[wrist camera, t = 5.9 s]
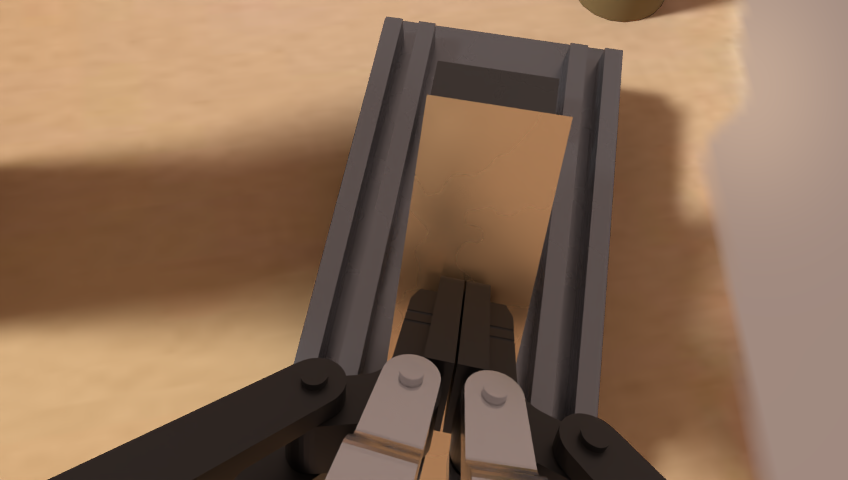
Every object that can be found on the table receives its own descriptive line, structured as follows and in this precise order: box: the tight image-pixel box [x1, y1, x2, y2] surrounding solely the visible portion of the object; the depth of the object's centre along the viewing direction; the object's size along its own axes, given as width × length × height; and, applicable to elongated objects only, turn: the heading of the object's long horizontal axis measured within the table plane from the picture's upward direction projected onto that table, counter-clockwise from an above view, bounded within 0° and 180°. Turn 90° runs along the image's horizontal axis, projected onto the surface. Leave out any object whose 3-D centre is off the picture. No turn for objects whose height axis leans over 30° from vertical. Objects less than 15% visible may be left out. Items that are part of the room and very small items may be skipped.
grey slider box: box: [294, 17, 623, 421], centre depth 19 cm, size 12×20×7 cm, turn 169°
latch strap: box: [387, 95, 573, 480], centre depth 14 cm, size 4×14×1 cm, turn 169°
